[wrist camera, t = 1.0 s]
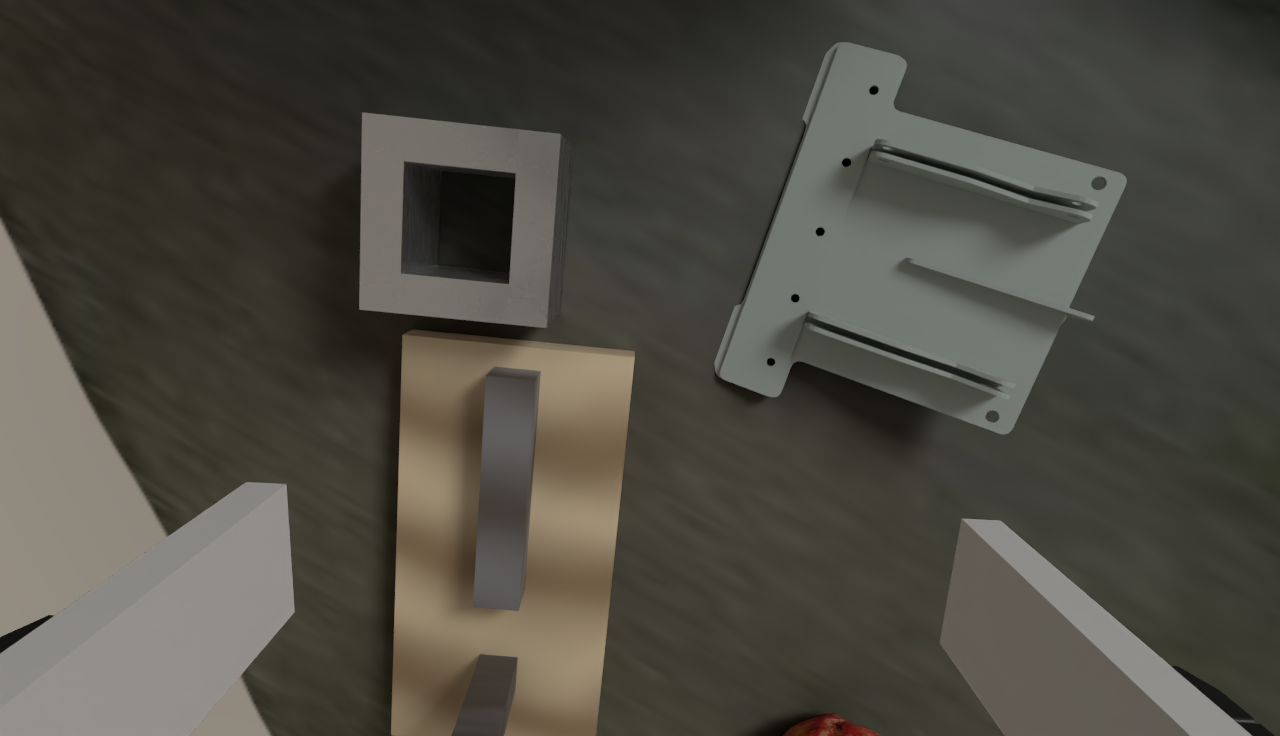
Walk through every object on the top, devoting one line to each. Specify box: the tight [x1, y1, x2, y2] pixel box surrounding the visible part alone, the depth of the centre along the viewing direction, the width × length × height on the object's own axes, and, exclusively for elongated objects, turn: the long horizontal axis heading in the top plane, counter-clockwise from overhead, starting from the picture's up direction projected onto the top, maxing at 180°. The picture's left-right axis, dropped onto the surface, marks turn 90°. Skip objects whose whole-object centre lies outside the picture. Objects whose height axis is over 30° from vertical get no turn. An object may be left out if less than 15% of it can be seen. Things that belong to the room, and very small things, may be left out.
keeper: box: [391, 329, 635, 736], centre depth 29 cm, size 20×10×8 cm, turn 174°
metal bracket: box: [715, 42, 1127, 434], centre depth 30 cm, size 14×6×15 cm
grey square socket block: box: [359, 112, 573, 328], centre depth 27 cm, size 7×7×5 cm
